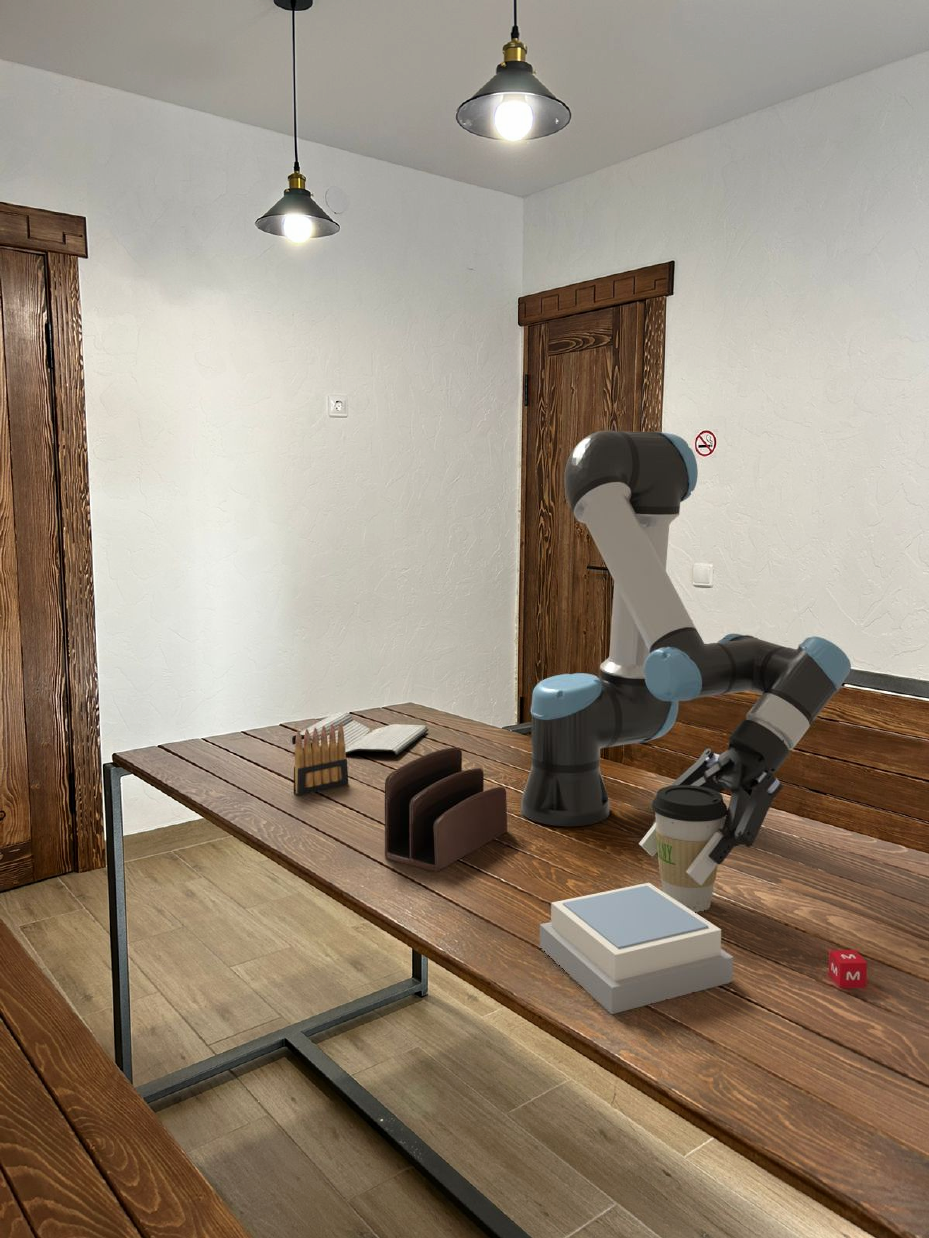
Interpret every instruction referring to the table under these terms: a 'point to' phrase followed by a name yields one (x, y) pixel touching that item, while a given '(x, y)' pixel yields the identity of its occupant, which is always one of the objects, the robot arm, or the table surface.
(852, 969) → the red letter cube
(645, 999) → the plinth
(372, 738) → the open book
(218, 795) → the table surface
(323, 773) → the ammunition clip
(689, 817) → the coffee cup
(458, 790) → the letter holder
